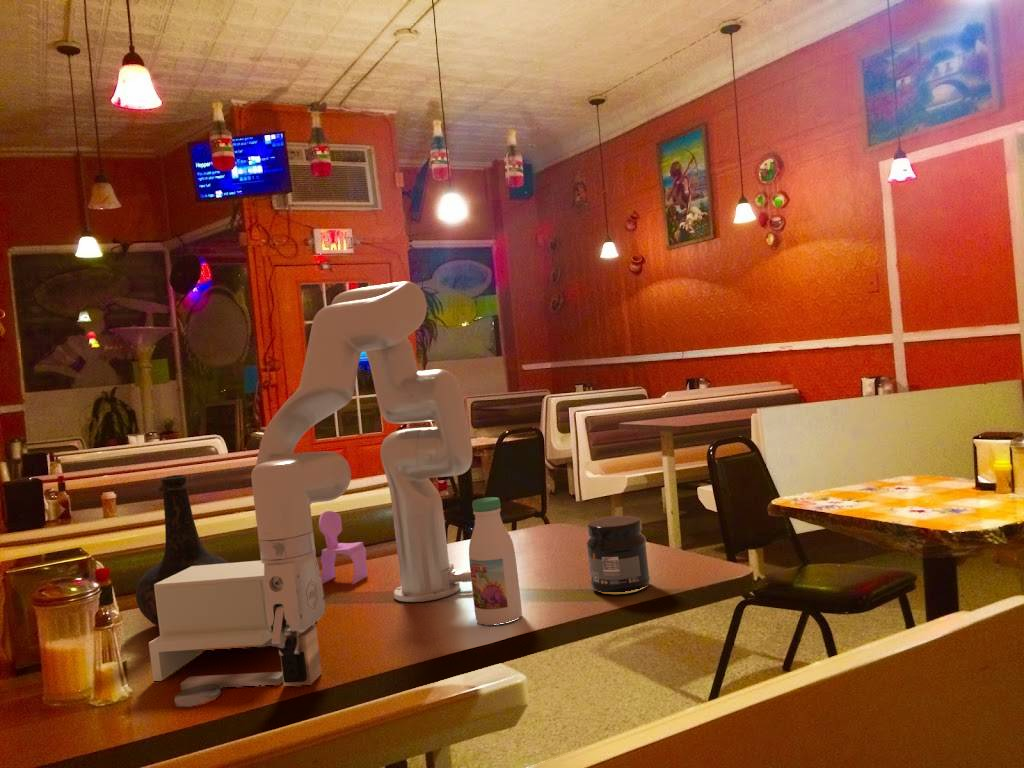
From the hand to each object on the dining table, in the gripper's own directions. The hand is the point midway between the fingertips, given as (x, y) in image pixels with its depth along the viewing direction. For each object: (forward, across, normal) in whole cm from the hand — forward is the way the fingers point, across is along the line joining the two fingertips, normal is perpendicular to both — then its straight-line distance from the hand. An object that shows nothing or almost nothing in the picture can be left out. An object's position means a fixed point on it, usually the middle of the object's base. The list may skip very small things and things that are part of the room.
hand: (302, 673), depth 114 cm
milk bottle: (+1, +22, -25) cm, 33 cm away
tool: (+1, 0, +8) cm, 8 cm away
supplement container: (+1, +35, -45) cm, 57 cm away
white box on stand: (+1, +10, +16) cm, 19 cm away
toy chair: (+1, +56, +14) cm, 58 cm away
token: (+1, -4, +14) cm, 14 cm away
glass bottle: (+1, +33, +36) cm, 49 cm away
